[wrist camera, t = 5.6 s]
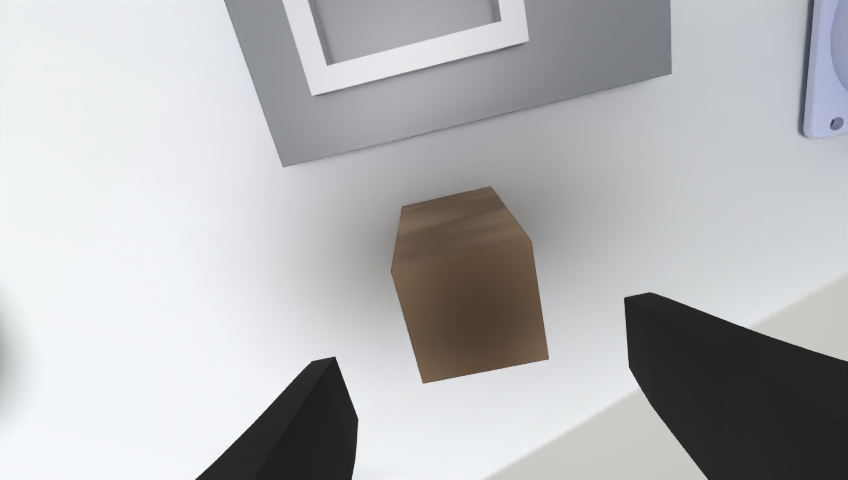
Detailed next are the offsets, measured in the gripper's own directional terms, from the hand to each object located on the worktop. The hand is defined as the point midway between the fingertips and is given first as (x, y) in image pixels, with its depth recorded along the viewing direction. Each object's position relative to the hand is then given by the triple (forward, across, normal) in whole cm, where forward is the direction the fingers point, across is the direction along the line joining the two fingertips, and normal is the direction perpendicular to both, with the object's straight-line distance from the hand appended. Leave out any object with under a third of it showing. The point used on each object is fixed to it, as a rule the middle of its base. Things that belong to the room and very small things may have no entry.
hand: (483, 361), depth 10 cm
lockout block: (+9, 0, 0) cm, 9 cm away
